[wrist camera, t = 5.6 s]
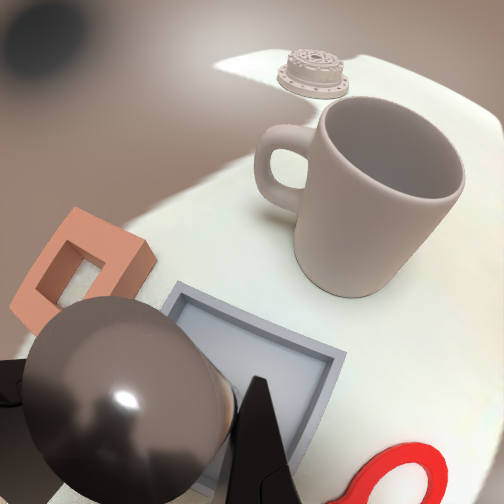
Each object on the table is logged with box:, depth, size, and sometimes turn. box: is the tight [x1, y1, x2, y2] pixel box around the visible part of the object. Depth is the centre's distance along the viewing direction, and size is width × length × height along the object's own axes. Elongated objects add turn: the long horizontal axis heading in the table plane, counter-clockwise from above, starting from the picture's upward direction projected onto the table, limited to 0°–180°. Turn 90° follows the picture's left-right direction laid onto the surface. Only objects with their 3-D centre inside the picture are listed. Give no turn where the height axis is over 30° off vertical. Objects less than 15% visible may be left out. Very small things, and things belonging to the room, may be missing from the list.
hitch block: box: [9, 207, 157, 337], centre depth 19 cm, size 10×8×3 cm
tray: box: [160, 281, 347, 499], centre depth 15 cm, size 11×11×2 cm
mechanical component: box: [278, 49, 349, 99], centre depth 33 cm, size 10×4×10 cm
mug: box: [254, 96, 465, 298], centre depth 18 cm, size 12×8×11 cm
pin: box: [22, 296, 243, 504], centre depth 8 cm, size 3×3×12 cm
